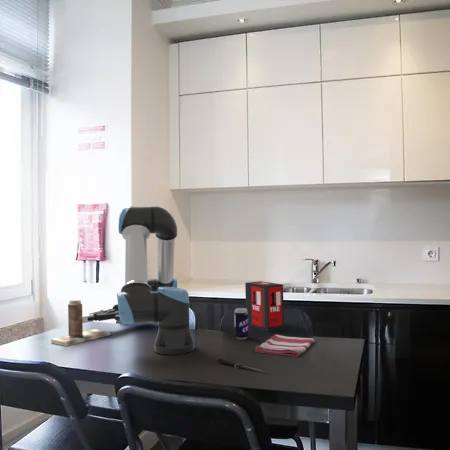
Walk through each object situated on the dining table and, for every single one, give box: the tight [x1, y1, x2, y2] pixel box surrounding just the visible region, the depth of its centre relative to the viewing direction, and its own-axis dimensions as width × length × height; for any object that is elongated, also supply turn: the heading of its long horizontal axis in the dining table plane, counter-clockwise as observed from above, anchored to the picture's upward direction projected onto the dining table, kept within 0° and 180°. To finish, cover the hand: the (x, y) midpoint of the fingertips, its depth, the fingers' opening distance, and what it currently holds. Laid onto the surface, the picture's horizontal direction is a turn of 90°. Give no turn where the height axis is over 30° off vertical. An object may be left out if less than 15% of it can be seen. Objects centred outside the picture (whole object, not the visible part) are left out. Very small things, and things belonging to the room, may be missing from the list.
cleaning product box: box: [244, 280, 285, 333], centre depth 209 cm, size 16×9×20 cm, turn 33°
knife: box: [217, 357, 273, 376], centre depth 147 cm, size 25×2×5 cm
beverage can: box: [233, 307, 249, 340], centre depth 189 cm, size 6×6×12 cm
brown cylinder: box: [67, 299, 84, 337], centre depth 190 cm, size 5×7×15 cm, turn 53°
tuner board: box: [50, 328, 111, 347], centre depth 193 cm, size 22×10×2 cm, turn 143°
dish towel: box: [254, 334, 316, 358], centre depth 174 cm, size 17×23×3 cm
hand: (79, 320), depth 193 cm, fingers closed
